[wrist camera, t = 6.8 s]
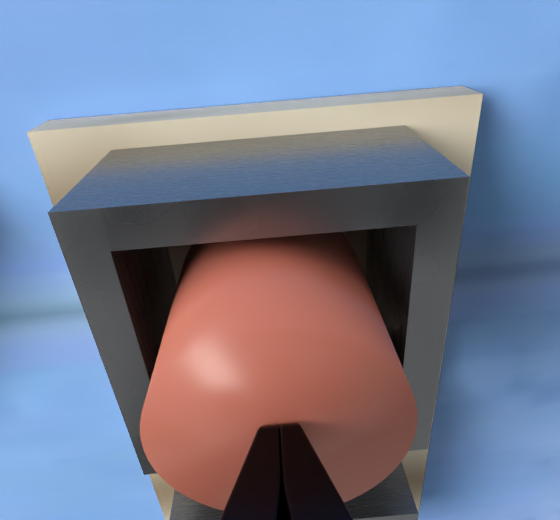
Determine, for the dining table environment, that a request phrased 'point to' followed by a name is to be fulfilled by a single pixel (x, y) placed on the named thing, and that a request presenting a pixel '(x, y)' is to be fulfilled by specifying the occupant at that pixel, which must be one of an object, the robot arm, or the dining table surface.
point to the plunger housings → (267, 224)
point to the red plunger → (275, 366)
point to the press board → (253, 124)
